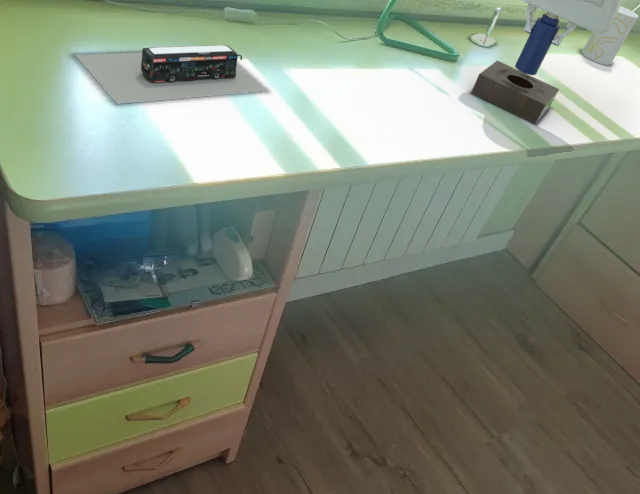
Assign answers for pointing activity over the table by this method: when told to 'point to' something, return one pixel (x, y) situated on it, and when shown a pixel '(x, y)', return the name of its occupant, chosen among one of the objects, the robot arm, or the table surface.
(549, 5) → the robot arm
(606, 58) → the cup
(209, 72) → the toy bus on base
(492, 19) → the stand
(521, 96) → the block
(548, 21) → the bottle
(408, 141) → the table surface
